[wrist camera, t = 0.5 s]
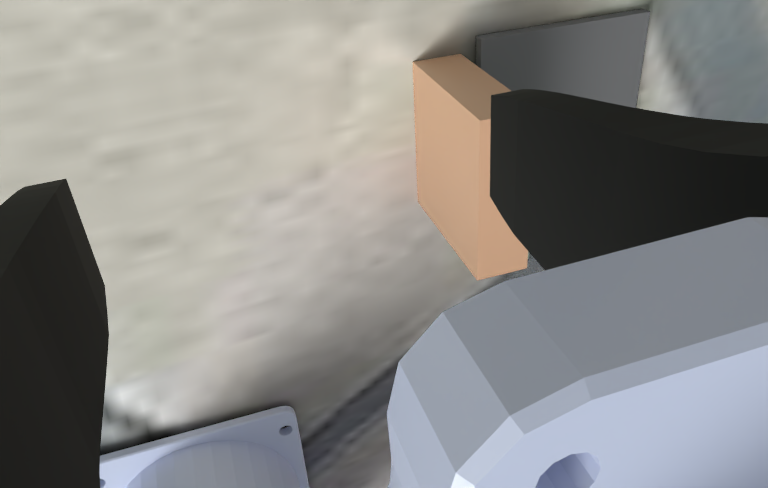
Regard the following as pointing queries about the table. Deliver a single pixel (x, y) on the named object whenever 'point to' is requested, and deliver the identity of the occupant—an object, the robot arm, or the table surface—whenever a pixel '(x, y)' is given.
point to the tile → (461, 163)
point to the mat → (571, 57)
